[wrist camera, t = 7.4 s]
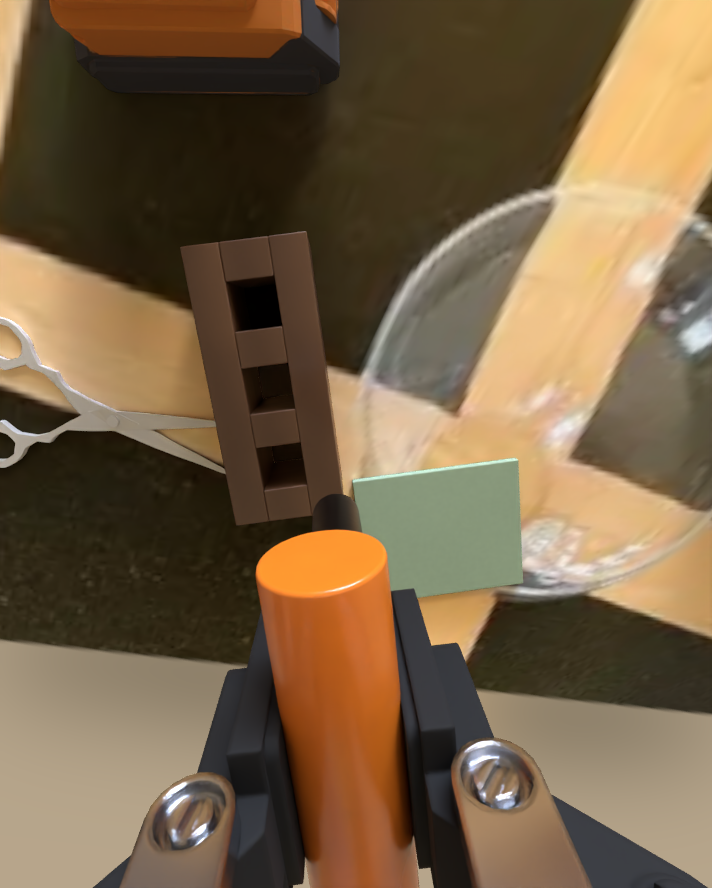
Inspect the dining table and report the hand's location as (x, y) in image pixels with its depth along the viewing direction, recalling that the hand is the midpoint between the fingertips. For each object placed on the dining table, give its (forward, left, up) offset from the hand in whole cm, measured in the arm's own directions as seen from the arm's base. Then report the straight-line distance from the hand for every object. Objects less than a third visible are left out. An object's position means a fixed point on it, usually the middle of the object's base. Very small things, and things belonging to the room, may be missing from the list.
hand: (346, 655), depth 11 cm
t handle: (0, 0, -8) cm, 8 cm away
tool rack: (+3, -4, -24) cm, 24 cm away
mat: (-7, +9, -24) cm, 26 cm away
